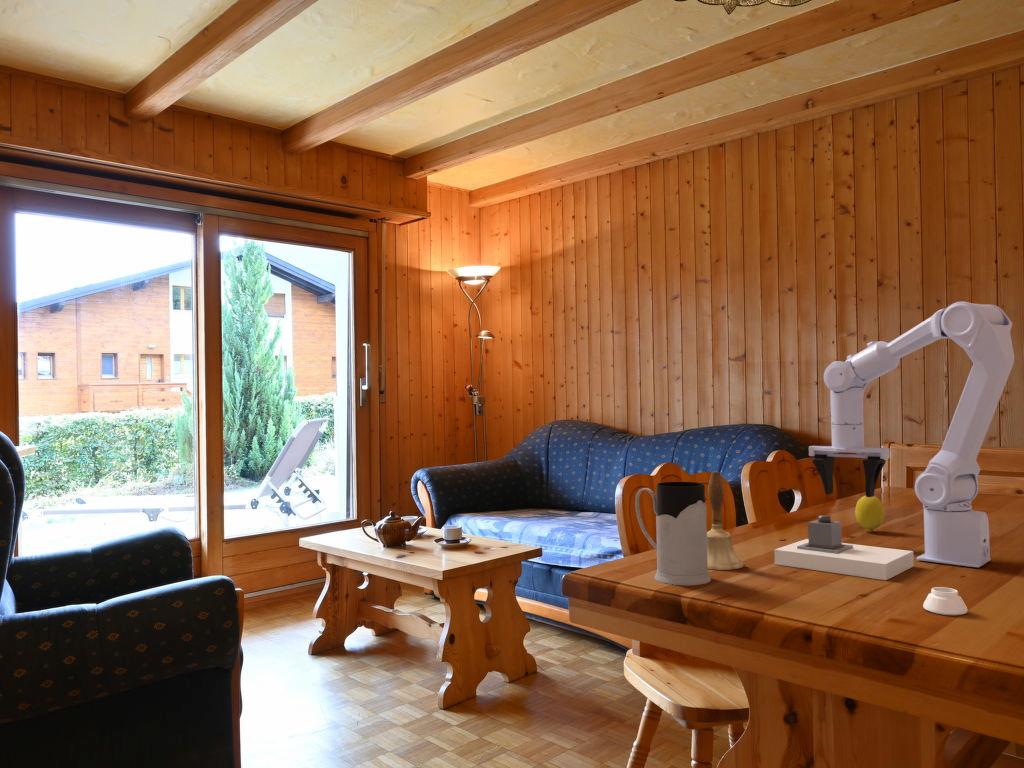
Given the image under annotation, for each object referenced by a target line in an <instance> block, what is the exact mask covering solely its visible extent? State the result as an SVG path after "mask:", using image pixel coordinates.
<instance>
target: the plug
mask: <svg viewBox="0 0 1024 768" xmlns="http://www.w3.org/2000/svg"><path fill="white" fill-rule="evenodd" d="M817 517H818V519H815V520H812V521H808V522H807V530H808V532H807V533H808V536H807V537H808V539H809V547H814V548H822V549H830V550H836V549H838V548H841V547H842V543H843V542H842V540H843V539H842V537H843V536H842V521H836V520H831V519H832V516H831V515H825V514H824V515H821V514H820V515H817Z"/></svg>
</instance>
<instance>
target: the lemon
mask: <svg viewBox="0 0 1024 768" xmlns="http://www.w3.org/2000/svg"><path fill="white" fill-rule="evenodd" d="M854 515H855V518H856V521H857V523H858V524H859V525H860V526H861V527H862V528H864V529H866V530H867V531H868V532H869V533H872V532H874V530H875V529H878V528H879V527H881V526H882V524H883V523H884V522H885V521H884V520H885V508H884V504H883V502H882V500H880V499H879V498H878V497H877V496H875V495H874V496H873V497H866V494H864V495H863V496H861V497H860V498H859V499H858V500H857V502H856V505H855V509H854Z"/></svg>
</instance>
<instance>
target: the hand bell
mask: <svg viewBox="0 0 1024 768" xmlns="http://www.w3.org/2000/svg"><path fill="white" fill-rule="evenodd" d="M710 473H711V474H710V478H709V480H708V486H707V493H708V500H709V502H710V505H711V529H710V530H707V562H708V570H713V571H731V570H738V569H741V568H744V566H745V565H744V562H743V561H742V560H741V559H740V558H739V557H738V555H737V553H736V552H735V548H734V546H733V542H732V534H731V533H729V532H727V531H726V530H724V529H723V519H722V505H723V502H724V494H725V493H724V492H725V491H724V483H723V481H722V477H721V476H720V475H721V474H720V471H711V472H710Z"/></svg>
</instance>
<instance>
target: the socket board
mask: <svg viewBox="0 0 1024 768" xmlns="http://www.w3.org/2000/svg"><path fill="white" fill-rule="evenodd" d="M774 565H778V566H785V567H791V568H799V569H805V570H813V571H818V572H825V573H830V574H831V573H832V574H837V575H838V574H839V575H845V576H854V577H859V578H867V579H873V580H880V581H887V580H889V579H890V580H891V578H893V577H896V576H897V575H899V574H901V573H903V572H905V571H907V570H909V569H911V568H913V567H914V566H915V564H914V551H913V550H906V549H897V548H889V547H880V546H870V545H864V544H863V545H862V544H855V543H847V542H842V547H841V548H838V549H836V550H830V549H822V548H814V547H809V538H805V539H802V540H799V541H796V542H793V543H790V544H787V545H783V546H782V547H778V548H775V549H774Z"/></svg>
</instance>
